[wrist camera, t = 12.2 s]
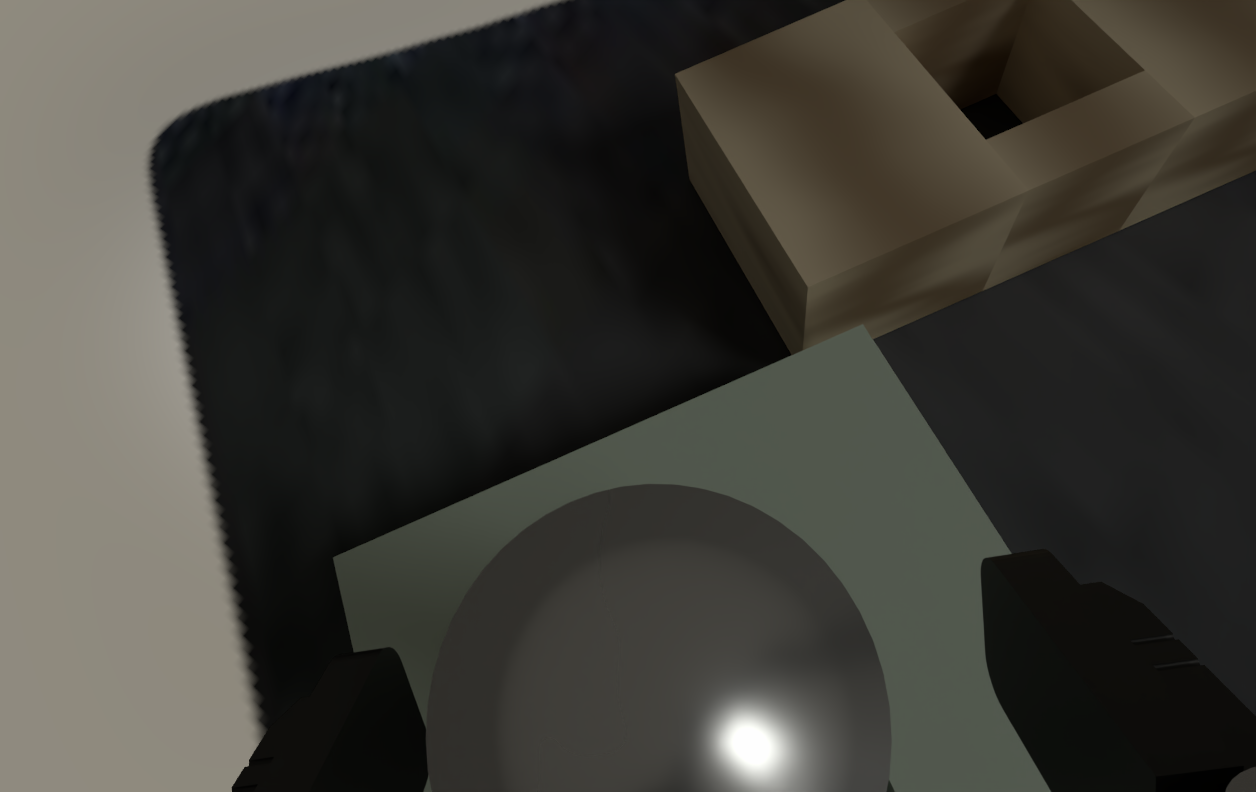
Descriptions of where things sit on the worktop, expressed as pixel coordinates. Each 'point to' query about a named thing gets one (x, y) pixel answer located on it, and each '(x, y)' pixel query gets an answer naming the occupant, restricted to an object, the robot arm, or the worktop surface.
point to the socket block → (795, 496)
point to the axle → (658, 658)
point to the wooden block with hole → (957, 144)
